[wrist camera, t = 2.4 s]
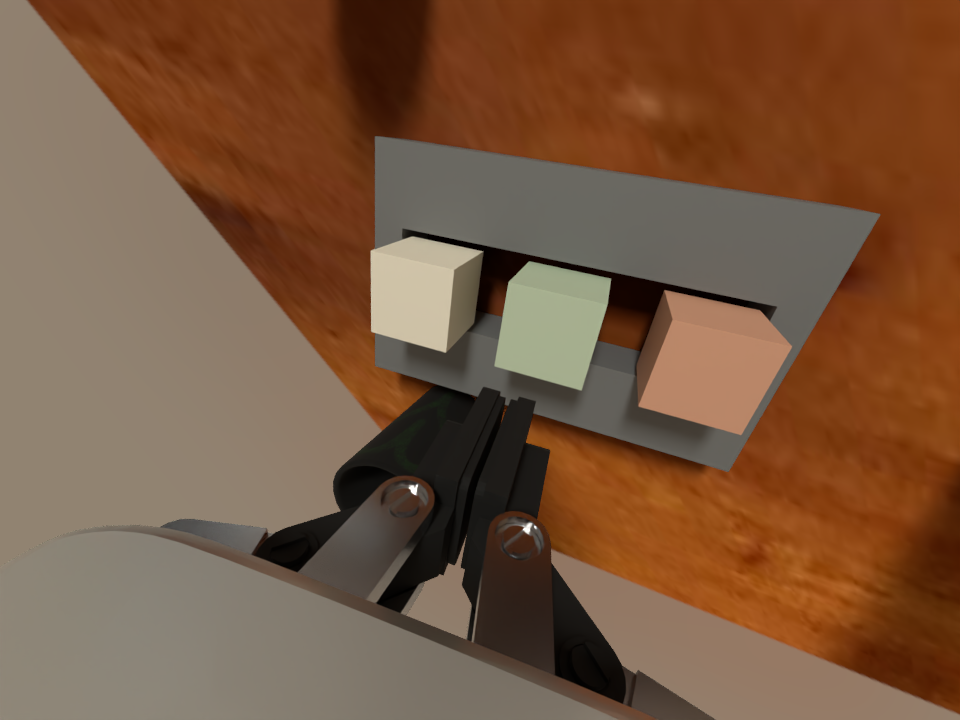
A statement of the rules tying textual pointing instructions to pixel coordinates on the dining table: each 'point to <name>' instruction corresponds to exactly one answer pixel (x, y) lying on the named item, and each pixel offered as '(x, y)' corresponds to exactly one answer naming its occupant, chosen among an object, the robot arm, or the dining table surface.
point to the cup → (399, 445)
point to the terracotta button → (708, 361)
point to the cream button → (424, 291)
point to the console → (611, 269)
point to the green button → (552, 323)
